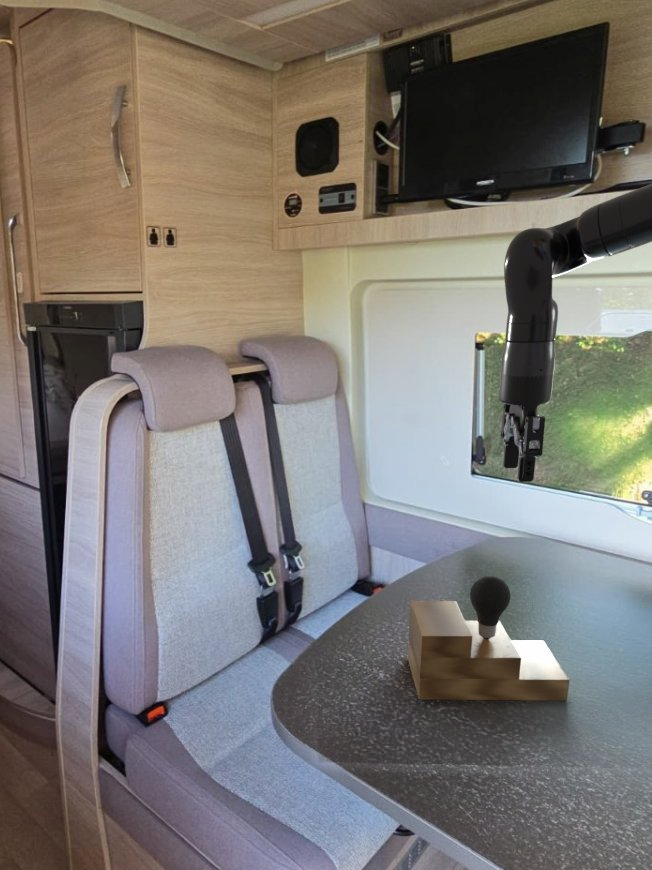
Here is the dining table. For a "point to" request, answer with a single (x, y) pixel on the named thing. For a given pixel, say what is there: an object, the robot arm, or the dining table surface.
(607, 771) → the dining table surface
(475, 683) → the step shelf
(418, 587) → the dining table surface
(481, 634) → the light bulb
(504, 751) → the dining table surface
